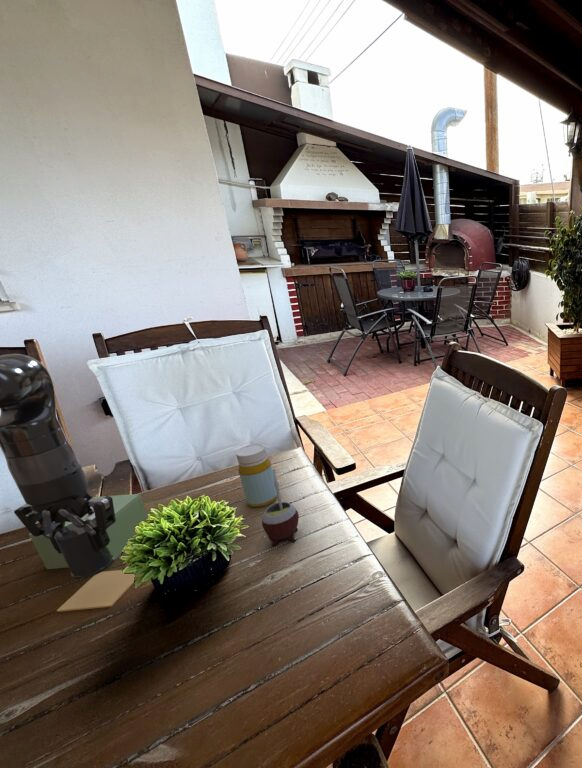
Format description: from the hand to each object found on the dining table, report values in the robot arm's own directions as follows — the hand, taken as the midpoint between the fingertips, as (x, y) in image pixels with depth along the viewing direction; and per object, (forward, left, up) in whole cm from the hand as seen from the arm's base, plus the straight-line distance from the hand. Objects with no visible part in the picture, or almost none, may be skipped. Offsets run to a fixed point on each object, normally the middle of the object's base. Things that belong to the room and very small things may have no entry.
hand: (85, 548), depth 74 cm
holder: (0, 0, -4) cm, 4 cm away
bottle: (+18, +26, -10) cm, 33 cm away
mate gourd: (+29, +11, -10) cm, 33 cm away
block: (-10, +13, -10) cm, 19 cm away
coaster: (0, 0, -10) cm, 10 cm away
